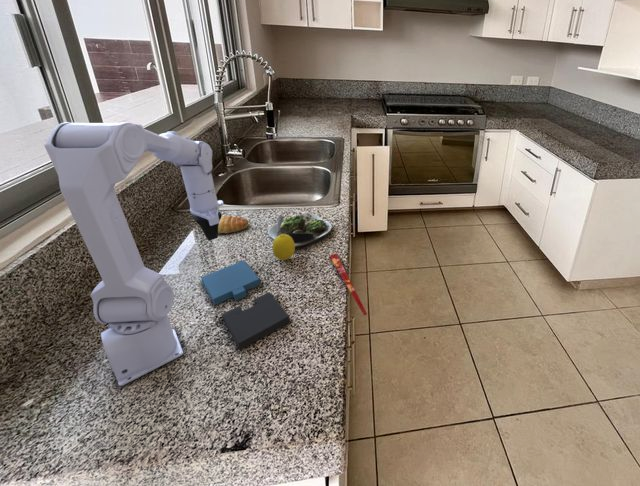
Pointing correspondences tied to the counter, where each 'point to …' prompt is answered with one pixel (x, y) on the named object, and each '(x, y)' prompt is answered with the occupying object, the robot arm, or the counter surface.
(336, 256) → the chopstick
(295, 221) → the salad plate
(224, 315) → the charcoal pad
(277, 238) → the lemon
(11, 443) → the counter surface
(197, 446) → the counter surface
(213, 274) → the blue pad
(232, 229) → the pastry
